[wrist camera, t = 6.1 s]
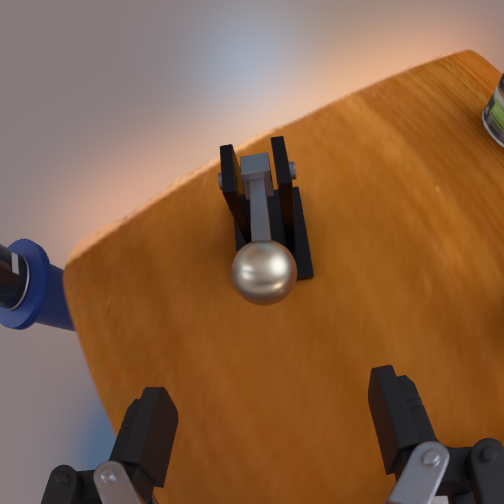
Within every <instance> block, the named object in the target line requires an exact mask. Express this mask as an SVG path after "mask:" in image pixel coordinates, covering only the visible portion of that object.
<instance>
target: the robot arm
mask: <svg viewBox="0 0 504 504" xmlns="http://www.w3.org/2000/svg"><path fill="white" fill-rule="evenodd" d="M30 282H31V268H30V264H29V261H28V259H27V258H26V257H25V256H24V255H22V254H20V253H16V252H14V251H12V250H11V249H9V248H7V247H5V246H3V245H1V244H0V307H1V308H3V309H5V310H8V311H13V310H16V309H17V308H19V307H20V306H21V305H22V303H23V302H24V300H25V298H26V296H27V294H28V291H29V287H30ZM368 402H369V407H370V411H371V415H372V418H373V422H374V426H375V430H376V434H377V438H378V442H379V446H380V450H381V454H382V458H383V462H384V467H385V471H386V475H389V474H393V473H394V474H395V478H396V483H395V484H394V486H393V488H392V490H391V492H390V493H389V495H388V497H387V499H386V500H385V502H384V504H431V502H432V500H433V498H434V496H447V498H448V503H449V504H504V448H503V446H502V445H501V443H500V442H499V441H497V440H495V439H492V438H485V439H482V440H480V441H478V442H477V443H476V444H475V445H474V447H462V448H451V447H447V446H445V445H443V444H441V443H440V442H439V441H438V440H437V438H436V436H435V434H434V432H433V429H432V426H431V424H430V421H429V418H428V416H427V413H426V411H425V408H424V406H423V405H422V401H421V398H420V396H419V394H418V391H417V389H416V386H415V384H414V383H413V382H412V381H411V380H410V379H409V378H408V377H407V376H406V375H403V376H398V377H396V374H395V372H394V369H393V367H392V365H385V366H381V367H376V368H372V369H371V375H370V382H369V389H368ZM177 425H178V411H177V409H176V407H175V405H174V403H173V401H172V400H171V398H170V396H169V394H168V392H167V390H166V389H165V388H164V387H146V388H145V389H144V391H143V393H142V396H141V399H135V400H134V401H133V403H132V404H131V405H130V406H129V407H128V409H127V411H126V414H125V417H124V420H123V422H122V425H121V429H120V431H119V433H118V436H117V439H116V442H115V445H114V448H113V451H112V453H111V456H110V459H109V460H108V461H106V462H103V463H102V464H100V465H99V466H98V467H97V468H96V469H95V470H87V471H75V470H74V469H73V468H72V467H70V466H68V465H60V466H58V467H56V468H55V469H54V470H53V471H52V472H51V474H50V477H49V480H48V483H47V486H46V489H45V492H44V495H43V499H42V502H41V504H159V503H158V501H157V499H156V498H155V496H154V494H153V489H154V486H155V487H162V488H164V483H165V478H166V474H167V469H168V464H169V460H170V455H171V451H172V446H173V442H174V438H175V433H176V429H177Z"/></svg>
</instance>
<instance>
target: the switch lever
mask: <svg viewBox="0 0 504 504" xmlns="http://www.w3.org/2000/svg"><path fill="white" fill-rule="evenodd" d="M240 175H241V179H242V183H243V188H244V192H245V197H246V200H248V199H250V208H251V236H252V242H250V243H248V244H247V245H245V246H244V247H242V248H241V249H240V250H239V252H238V253H237V254H236V256H235V258H234V260H233V262H232V266H231V279H232V283H233V285H234V288H235V290H236V291H237V292H238V294H239V295H240V296H241V297H242V298H243V299H245V300H246V301H248V302H250V303H252V304H255V305H260V306H268V305H273V304H276V303H278V302H280V301H282V300H283V299H285V298H286V297H287V296H288V295H289V294H290V292H291V291H292V289H293V288H294V285H295V283H296V279H297V266H296V262H295V260H294V258H293V256H292V254H291V253H290V251H289V250H288V249H287V248H286V247H284V246H283V245H281V244H280V243H278V242H275V241H272V240H271V232H270V222H269V213H268V203H267V197H268V196H274V190H273V183H272V176H271V170H270V164H269V157H268V153H261V154H255V155H248V156H242V157H241V168H240Z"/></svg>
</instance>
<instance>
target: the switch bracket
mask: <svg viewBox="0 0 504 504" xmlns="http://www.w3.org/2000/svg"><path fill="white" fill-rule="evenodd" d="M271 145H272V151H273V158H274V165H275V172H276V179H277V186H278V189H277V190H274V196H268V197H267V203H268V213H269V222H270V232H271V240H272V241H275V242H278V243H280V244H281V245H283V246H284V247H286V248H287V249H288V250H289V251H290V253H291V254H292V256H293V258H294V260H295V262H296V266H297V279H296V281H297V280H304V279H311V278H313V276H314V274H313V268H312V261H311V255H310V249H309V243H308V237H307V231H306V226H305V220H304V215H303V209H302V204H301V198H300V193H299V188H298V187H293V186H292V179H296V170H295V164H294V162H288V157H287V152H286V147H285V142H284V137H283V136H279V137H272V138H271ZM220 160H221V173H218V183H219V187H220V189H221V190H222V193H223V195H224V197H225V200H226V202H227V204H228V206H229V208H230V211H231V213H232V215H233V217H234V226H235V238H236V250H237V253H238V252H239V250H240V249H241V248H242V247H244V246H245V245H247V244H248V243H250V242H252V236H251V208H250V199H248V200H246V197H245V192H244V188H243V183H242V179H241V175H240V167H239V164H238V161H237V158H236V155H235V152H234V149H233V146H232V145H231V144H229V145H224V146H220Z"/></svg>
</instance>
